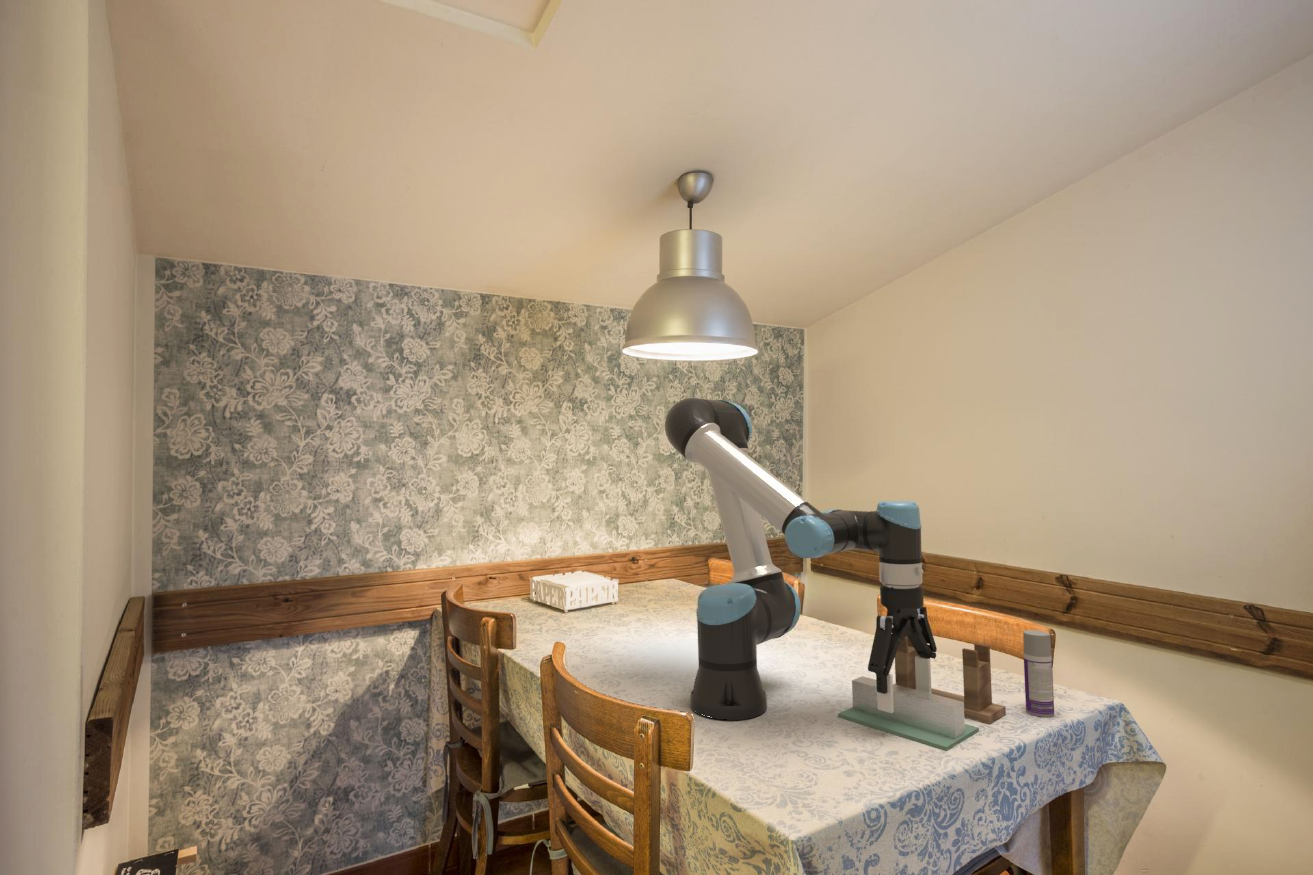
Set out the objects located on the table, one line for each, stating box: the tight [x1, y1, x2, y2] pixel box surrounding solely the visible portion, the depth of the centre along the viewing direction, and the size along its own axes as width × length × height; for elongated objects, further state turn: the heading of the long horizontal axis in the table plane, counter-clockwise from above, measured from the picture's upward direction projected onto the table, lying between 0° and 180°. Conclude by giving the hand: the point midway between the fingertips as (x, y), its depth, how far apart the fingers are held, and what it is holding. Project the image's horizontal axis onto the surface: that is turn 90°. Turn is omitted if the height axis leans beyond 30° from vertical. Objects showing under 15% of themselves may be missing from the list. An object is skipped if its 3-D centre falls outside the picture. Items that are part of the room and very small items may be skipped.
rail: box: [851, 675, 966, 739], centre depth 123 cm, size 4×20×5 cm, turn 41°
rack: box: [894, 636, 1007, 725], centre depth 132 cm, size 7×21×12 cm, turn 41°
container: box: [1022, 629, 1055, 718], centre depth 127 cm, size 5×5×15 cm
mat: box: [837, 706, 980, 752], centre depth 123 cm, size 12×21×1 cm, turn 41°
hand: (905, 701), depth 123 cm, fingers open, 13 cm apart
